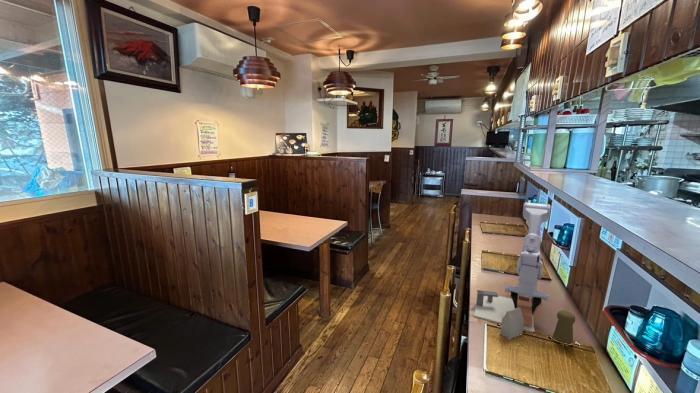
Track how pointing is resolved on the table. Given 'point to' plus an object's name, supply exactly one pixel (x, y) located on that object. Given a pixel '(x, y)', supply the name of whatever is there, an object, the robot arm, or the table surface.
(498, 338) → the table surface
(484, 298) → the board
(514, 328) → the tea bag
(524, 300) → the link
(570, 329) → the cork
